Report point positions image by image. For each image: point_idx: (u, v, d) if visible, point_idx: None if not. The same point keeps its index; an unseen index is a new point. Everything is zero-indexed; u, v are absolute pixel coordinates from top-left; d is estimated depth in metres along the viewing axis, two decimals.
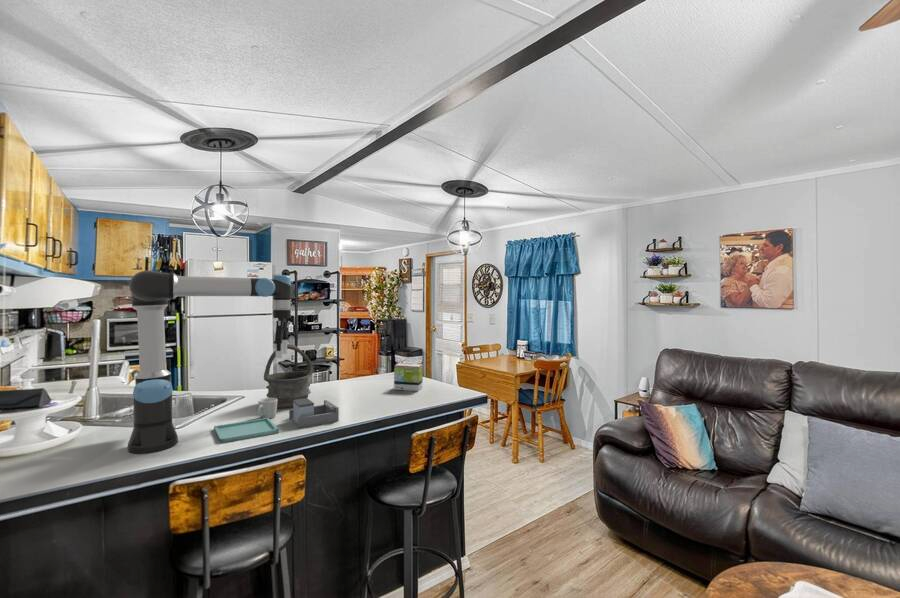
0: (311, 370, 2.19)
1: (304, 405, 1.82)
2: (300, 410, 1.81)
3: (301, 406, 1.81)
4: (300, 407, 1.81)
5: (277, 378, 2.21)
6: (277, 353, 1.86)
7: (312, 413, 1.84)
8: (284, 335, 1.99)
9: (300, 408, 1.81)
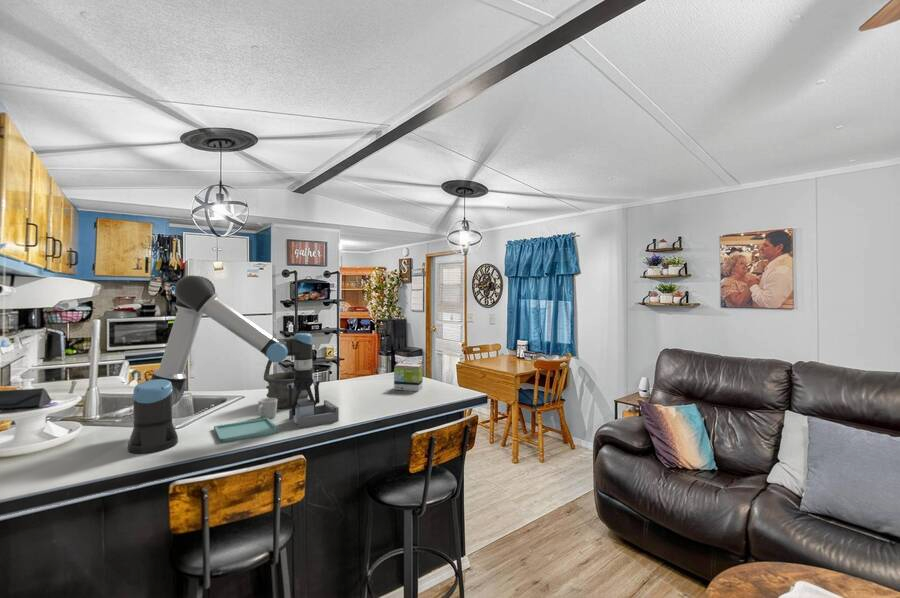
0: None
1: (304, 405, 1.82)
2: (300, 410, 1.81)
3: (301, 406, 1.81)
4: (300, 407, 1.81)
5: (277, 378, 2.21)
6: (294, 417, 1.85)
7: (312, 413, 1.84)
8: (310, 398, 1.88)
9: (300, 408, 1.81)
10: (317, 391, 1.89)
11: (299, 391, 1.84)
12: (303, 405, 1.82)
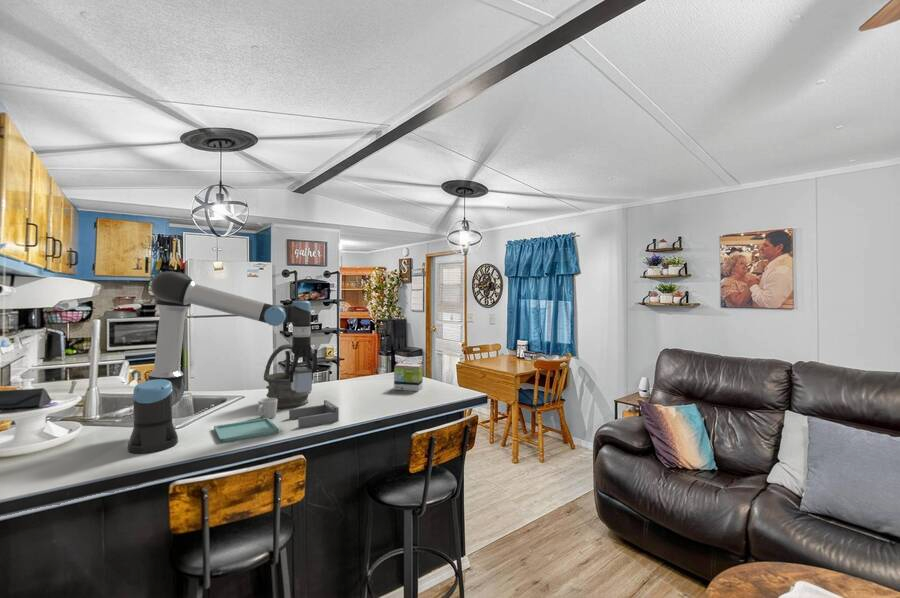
0: None
1: (302, 372, 1.81)
2: (298, 376, 1.80)
3: (299, 372, 1.80)
4: (298, 373, 1.80)
5: (277, 378, 2.21)
6: (292, 384, 1.84)
7: (310, 380, 1.83)
8: (308, 366, 1.87)
9: (298, 374, 1.80)
10: (315, 359, 1.88)
11: (297, 358, 1.83)
12: (301, 372, 1.81)
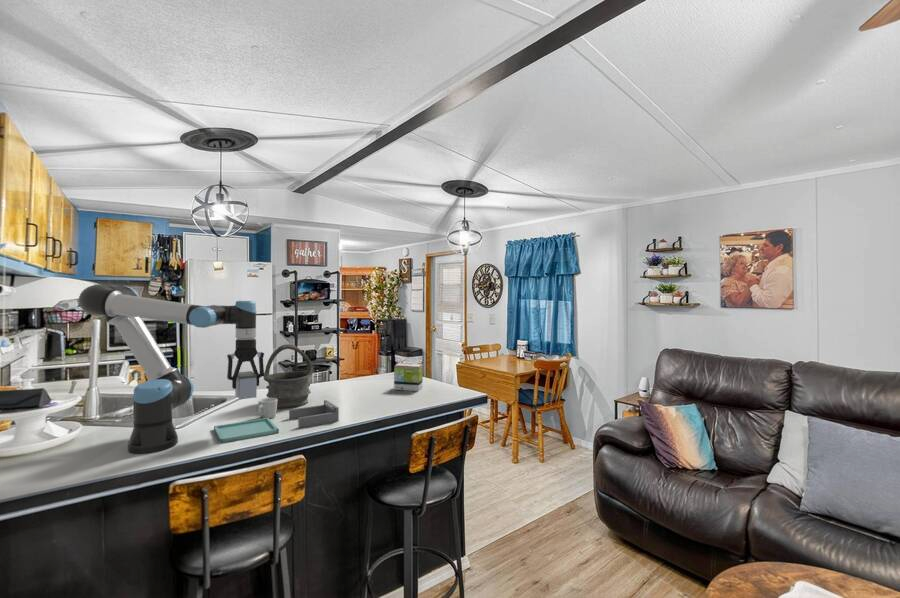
0: (311, 370, 2.19)
1: (245, 377, 1.68)
2: (240, 382, 1.67)
3: (242, 378, 1.68)
4: (240, 379, 1.67)
5: (277, 378, 2.21)
6: (235, 390, 1.71)
7: (254, 386, 1.70)
8: (253, 371, 1.74)
9: (240, 380, 1.67)
10: (261, 363, 1.75)
11: (240, 362, 1.70)
12: (244, 377, 1.68)
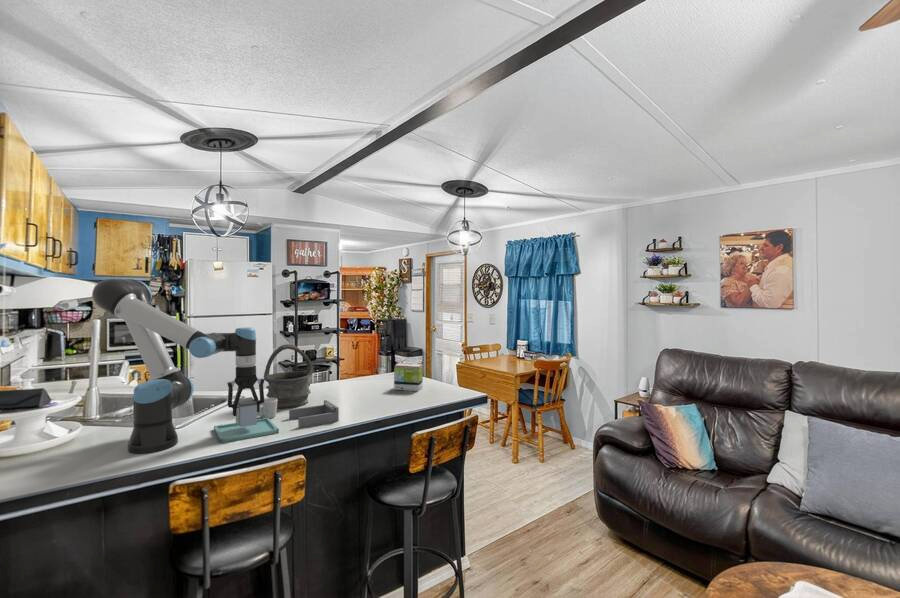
0: (311, 370, 2.19)
1: (245, 405, 1.68)
2: (241, 410, 1.68)
3: (242, 406, 1.68)
4: (241, 407, 1.68)
5: (277, 378, 2.21)
6: None
7: (255, 413, 1.71)
8: (254, 398, 1.75)
9: (241, 408, 1.68)
10: (261, 390, 1.75)
11: (240, 390, 1.70)
12: (244, 405, 1.68)
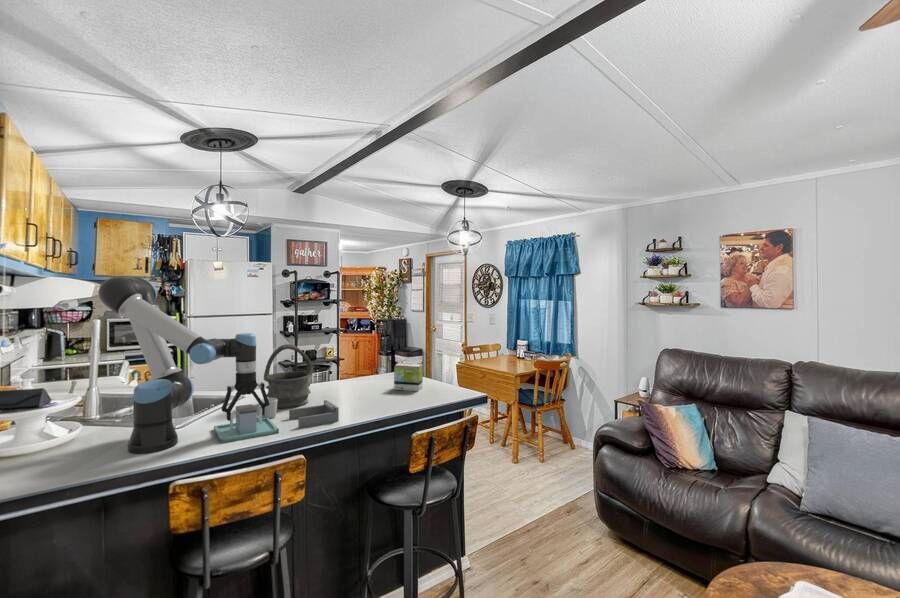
0: (311, 370, 2.19)
1: (245, 412, 1.69)
2: (240, 417, 1.68)
3: (242, 413, 1.68)
4: (240, 414, 1.68)
5: (277, 378, 2.21)
6: None
7: (254, 420, 1.71)
8: (258, 402, 1.76)
9: (240, 415, 1.68)
10: (264, 393, 1.76)
11: (239, 395, 1.70)
12: (244, 412, 1.68)
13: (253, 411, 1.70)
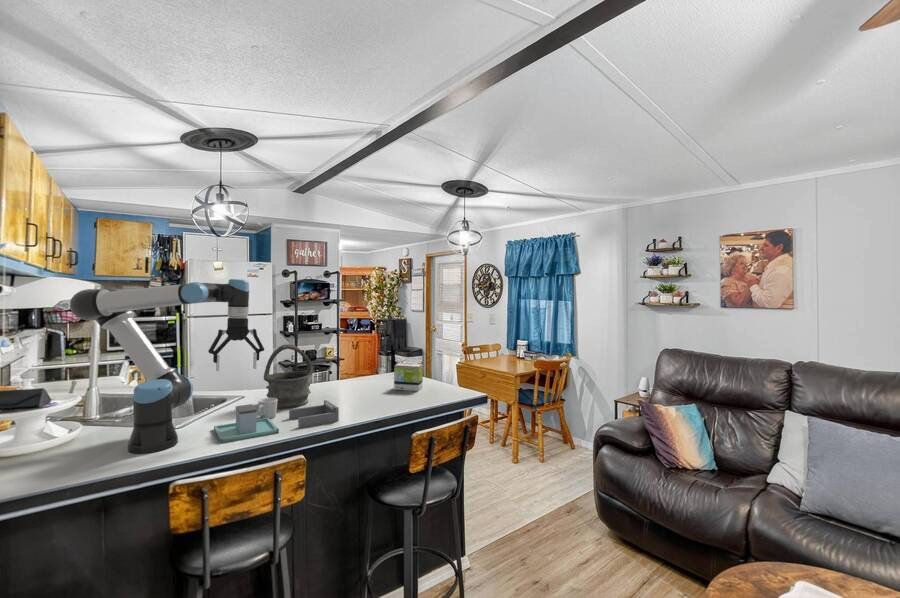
0: (311, 370, 2.19)
1: (245, 412, 1.69)
2: (240, 417, 1.68)
3: (242, 413, 1.68)
4: (240, 414, 1.68)
5: (277, 378, 2.21)
6: (216, 365, 1.69)
7: (254, 420, 1.71)
8: (252, 347, 1.75)
9: (240, 415, 1.68)
10: (257, 339, 1.76)
11: (229, 339, 1.69)
12: (244, 412, 1.68)
13: (253, 411, 1.70)
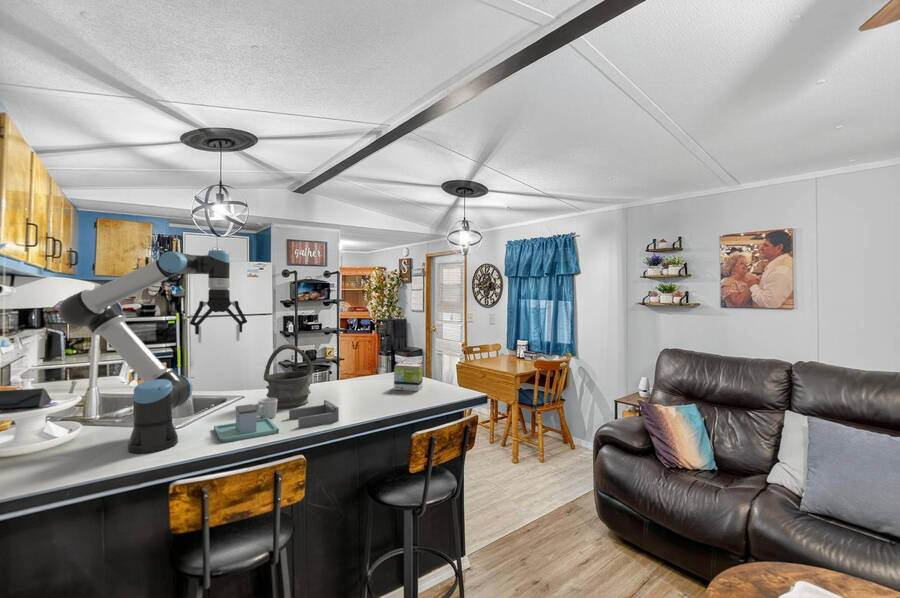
0: (311, 370, 2.19)
1: (245, 412, 1.69)
2: (240, 417, 1.68)
3: (242, 413, 1.68)
4: (240, 414, 1.68)
5: (277, 378, 2.21)
6: (198, 337, 1.68)
7: (254, 420, 1.71)
8: (234, 319, 1.74)
9: (240, 415, 1.68)
10: (239, 311, 1.75)
11: (210, 311, 1.68)
12: (244, 412, 1.68)
13: (253, 411, 1.70)
